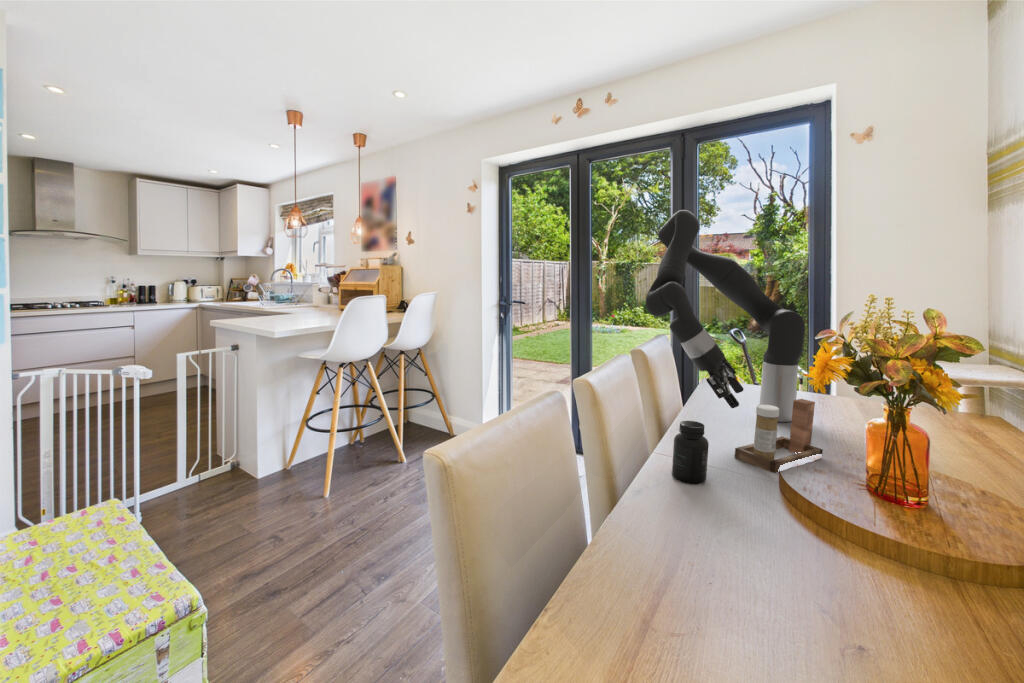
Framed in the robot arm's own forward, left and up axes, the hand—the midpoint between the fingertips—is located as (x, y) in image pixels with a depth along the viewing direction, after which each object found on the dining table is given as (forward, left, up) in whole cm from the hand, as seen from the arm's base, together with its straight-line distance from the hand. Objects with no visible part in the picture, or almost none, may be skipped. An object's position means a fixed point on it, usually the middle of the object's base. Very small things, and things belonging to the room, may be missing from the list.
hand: (738, 399), depth 118 cm
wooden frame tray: (+3, +14, -11) cm, 18 cm away
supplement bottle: (+31, +12, -11) cm, 35 cm away
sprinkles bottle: (+9, +14, -11) cm, 20 cm away
